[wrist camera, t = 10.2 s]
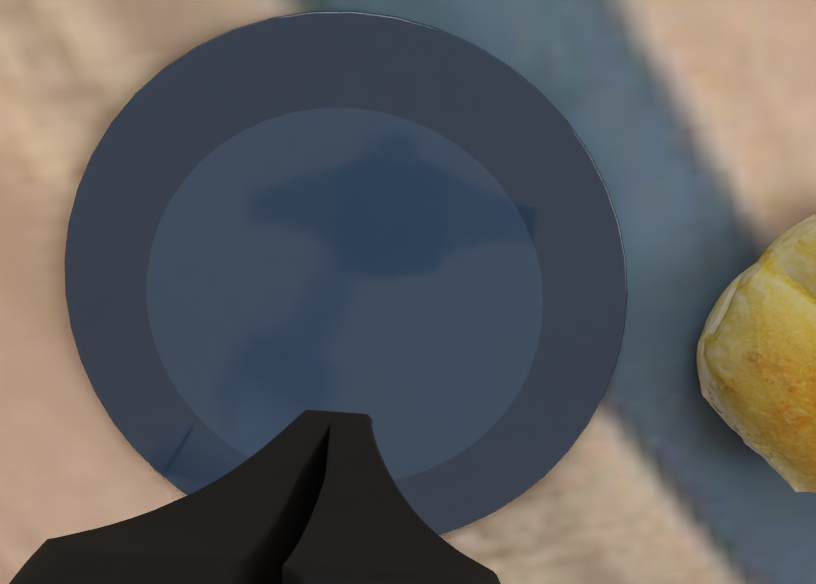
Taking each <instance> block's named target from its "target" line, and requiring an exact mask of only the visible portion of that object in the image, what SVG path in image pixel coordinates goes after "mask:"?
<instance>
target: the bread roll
mask: <svg viewBox="0 0 816 584" xmlns="http://www.w3.org/2000/svg"><path fill="white" fill-rule="evenodd" d="M697 369H698V375H699V380H700V389H701V393H702V395H703V397H704V398H705V399H706V400H707V401H708V402H709V403H710V405H711V406H712V407H713V408H714V409H715V411H716V412H717V413H718V414H719V415H720V416H721V418H722V419H723V420H724V421H725V422H726V423H727V425H728V426H729V427H731V429H732V430H734V431H735V432H736V433H737V434H738V435H739V436H741V437H742V439H743V441H744V443H745V444H746V445H747V446H749V447H750V448H751V449H752V450H753V451H755V452H756V453H758V454H759V455H761V456H762V457H763V458H764V459H765V460H766V461H767V463H768V464H769V465H770V466H771V467H772V468H774V469H775V470H776V471H777V472H778V473H779V474H780V475H781V476H782V477H783V478H784V479H785V480H786V481H787V482H788V484H789V485H790V486H791V487H792V489H793V490H794V491H795V492H814V493H816V214H815V215H813V216H811V217H808V218H807V219H805V220H803V221H801V222H799V223H797V224H796V225H794V226H792V227H791V228H789V229H787V230H786V231H785V232H784V233H782V234H781V235H780V236H778V237H777V238H776V239H775V240H774V241H773V242H772V243H771V244H770V246H769V247H768V248H767V249H766V251H765V252H764V253H763V254H762V256H761V257H760V258H759V260H758V261H757V262H756V263H755V264H753V265H752V266H750V267H749V268H748V269H746V270H745V271H744V272H743V273H741V274H739V275H738V276H737V278H736V279H735V280H733V281H732V282H731V283H730V284H729V286H728V287H727V288H726V289H725V291H724V292H723V293H722V294H721V296H720V297H719V299H718V300H717V302H716V303H715V305H714V307H713V309H712V310H711V312H710V314H709V316H708V318H707V320H706V322H705V325H704V328H703V331H702V334H701V336H700V339H699V342H698V346H697Z"/></svg>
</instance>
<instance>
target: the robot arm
mask: <svg viewBox="0 0 816 584" xmlns="http://www.w3.org/2000/svg"><path fill="white" fill-rule="evenodd" d="M9 584H500V581H499V579H498V577H497V575H496V574H495V573H494V572H493V571H492V570H490V569H488V568H486V567H485V566H483V565H481V564H479V563H478V562H476V561H474V560H472V559H471V558H469V557H467V556H465V555H464V554H462V553H461V552H459V551H458V550H457V549H455V548H454V547H452V546H451V545H450V544H448V543H447V542H446V541H444V540H443V539H442V538H441V537H440V536H438V535H437V534H436V533H435V532H434V531H433V530H432V529H431V528H430V527H429V526H428V525H427V524H426V523H425V522H424V521H423V520H422V519H421V518H420V517H419V516H418V515H417V513H416V512H415V511H414V510H413V508H412V507H411V506H410V505H409V503H408V502H407V501H406V499H405V498H404V496H403V495H402V493H401V492H400V490H399V489H398V487H397V485H396V484H395V482H394V480H393V478H392V477H391V475H390V473H389V471H388V469H387V467H386V465H385V463H384V461H383V458H382V456H381V454H380V452H379V449H378V446H377V443H376V440H375V437H374V433H373V429H372V419H371V418H370V417H369V415H368V414H360V413H347V412H333V411H319V410H305V411H304V412H303V413H302V414H300V415H299V416H298V417H297V418H296V419H295V420H293V421H292V422H291V423H290V424H289V425H288V426H287V427H286V428H285V429H284V430H282V431H281V432H280V433H279V434H278V435H277V436H276V437H275V438H273V439H272V440H271V441H270V442H269V443H267V444H266V445H265V446H264V447H263V448H261V449H260V450H259V451H258V452H257V453H255V454H254V455H253V456H251V457H250V458H248V459H247V460H246V461H244V462H243V463H242V464H240V465H239V466H237V467H236V468H235V469H233V470H232V471H230V472H229V473H227V474H226V475H224V476H222V477H221V478H219V479H217V480H216V481H214V482H212V483H210V484H209V485H207V486H205V487H203V488H201V489H200V490H198V491H196V492H194V493H192V494H190V495H187V496H185V497H183V498H181V499H178V500H176V501H174V502H172V503H169V504H167V505H165V506H163V507H160V508H158V509H156V510H153V511H151V512H148V513H145V514H142V515H139V516H137V517H134V518H131V519H128V520H124V521H121V522H118V523H115V524H112V525H108V526H104V527H101V528H97V529H93V530H88V531H84V532H80V533H75V534H71V535H66V536H62V537H57V538H52V539H47V540H46V541H45V542H44V543H43V544H42V546H41V547H40V548H39V549H38V550H37V551H36V552H35V553H34V554H33V555H32V556H31V557H30V559H29V560H28V561H27V562H26V563H25V564H24V566H23V567H22V568H21V569H20V571H19V572H18V573H17V574H16V576H15V577H14V578H13V579H12V581H11V582H10V583H9Z"/></svg>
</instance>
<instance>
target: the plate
mask: <svg viewBox="0 0 816 584" xmlns="http://www.w3.org/2000/svg"><path fill="white" fill-rule="evenodd" d="M65 293H66V299H67V306H68V312H69V318H70V324H71V329H72V332H73V336H74V339H75V342H76V346H77V349H78V353H79V356H80V359H81V362H82V364H83V366H84V369H85V371H86V373H87V375H88V378H89V380H90V382H91V384H92V387H93V389H94V391H95V393H96V395H97V396H98V398H99V399H100V401H101V403H102V404H103V406H104V408H105V409H106V411H107V413H108V414H109V416H110V418H111V419H112V421H113V422H114V424H115V425H116V426H117V427H118V429H119V430H120V431H121V432H122V434H123V435H124V436H125V438H126V439H127V440H128V441H129V443H130V444H131V445H132V447H133V448H134V449H135V450H136V451H137V452H138V453H139V454H140V455H141V456H142V457H143V458H144V459H145V460H146V461H147V462H148V463H149V464H150V465H151V466H152V467H153V468H154V469H155V470H156V471H157V472H158V473H160V474H161V475H162V476H163V477H165V478H166V479H167V480H168V481H170V482H171V483H172V484H173V485H175V486H176V487H177V488H178V489H180V490H181V491H182V492H184V493H185V494H187V495H190V494H192V493H194V492H196V491H198V490H200V489H201V488H203V487H205V486H207V485H209V484H210V483H212V482H214V481H216V480H217V479H219V478H221V477H222V476H224V475H226V474H227V473H229V472H230V471H232V470H233V469H235V468H236V467H237V466H239V465H240V464H242V463H243V462H244V461H246V460H247V459H248V458H250V457H251V456H253V455H254V454H255V453H257V452H258V451H259V450H260V449H261V448H263V447H264V446H265V445H266V444H267V443H269V442H270V441H271V440H272V439H273V438H275V437H276V436H277V435H278V434H279V433H280V432H281V431H282V430H284V429H285V428H286V427H287V426H288V425H289V424H290V423H291V422H292V421H293V420H295V419H296V418H297V417H298V416H299V415H300V414H302V413H303V412H304V411H305V410H319V411H333V412H347V413H360V414H368V415H369V417H370V418H371V419H372V429H373V433H374V437H375V440H376V443H377V446H378V449H379V452H380V454H381V456H382V458H383V461H384V463H385V465H386V467H387V469H388V471H389V473H390V475H391V477H392V478H393V480H394V482H395V484H396V485H397V487H398V489H399V490H400V492H401V493H402V495H403V496H404V498H405V499H406V501H407V502H408V503H409V505H410V506H411V507H412V508H413V510H414V511H415V512H416V513H417V515H418V516H419V517H420V518H421V519H422V520H423V521H424V522H425V523H426V524H427V525H428V526H429V527H430V528H431V529H432V530H433V531H434V532H435V533H436V534H437V535H440V534H443V533H446V532H449V531H452V530H455V529H458V528H461V527H464V526H466V525H468V524H470V523H472V522H475V521H477V520H479V519H481V518H483V517H485V516H487V515H489V514H491V513H493V512H495V511H497V510H498V509H500V508H501V507H503V506H504V505H506V504H508V503H509V502H511V501H512V500H514V499H516V498H517V497H519V496H520V495H522V494H523V493H524V492H525V491H526V490H528V489H529V488H530V487H531V486H533V485H534V484H535V483H536V482H538V481H539V480H540V479H541V478H542V477H544V476H545V475H546V474H547V473H548V472H549V471H550V470H551V469H552V468H553V467H554V466H555V465H556V463H557V462H558V461H559V460H560V459H561V458H562V457H563V456H564V455H565V454H566V453H567V452H568V451H569V449H570V448H571V447H572V445H573V444H574V443H575V441H576V440H577V439H578V437H579V436H580V434H581V433H582V432H583V430H584V429H585V428H586V426H587V425H588V423H589V421H590V420H591V418H592V416H593V414H594V412H595V410H596V409H597V407H598V405H599V403H600V401H601V400H602V398H603V396H604V394H605V391H606V389H607V386H608V383H609V381H610V378H611V376H612V373H613V370H614V368H615V365H616V362H617V358H618V354H619V350H620V345H621V341H622V337H623V333H624V326H625V316H626V305H627V273H626V257H625V252H624V246H623V241H622V236H621V230H620V225H619V221H618V218H617V215H616V212H615V209H614V206H613V203H612V200H611V197H610V195H609V192H608V189H607V186H606V184H605V182H604V180H603V178H602V176H601V174H600V172H599V170H598V168H597V166H596V164H595V162H594V160H593V158H592V156H591V154H590V153H589V151H588V150H587V148H586V147H585V145H584V144H583V143H582V141H581V140H580V138H579V137H578V135H577V134H576V132H575V131H574V130H573V128H572V127H571V125H570V124H569V122H568V121H567V120H566V119H565V118H564V117H563V116H562V114H561V113H560V112H559V111H558V110H557V109H556V108H555V107H554V106H553V105H552V104H551V102H550V101H549V100H548V99H547V98H546V97H545V96H544V95H543V94H542V93H541V92H540V91H539V90H538V89H537V88H535V87H534V86H533V85H532V84H531V83H529V82H528V81H527V80H526V79H524V78H523V77H522V76H521V75H520V74H518V73H517V72H516V71H515V70H513V69H512V68H511V67H510V66H508V65H507V64H505V63H504V62H502V61H500V60H499V59H497V58H495V57H494V56H492V55H490V54H489V53H487V52H486V51H484V50H482V49H481V48H479V47H477V46H476V45H474V44H472V43H470V42H467V41H465V40H463V39H460V38H458V37H456V36H453V35H451V34H449V33H447V32H444V31H442V30H440V29H437V28H435V27H431V26H427V25H424V24H420V23H417V22H413V21H409V20H406V19H402V18H399V17H394V16H387V15H379V14H372V13H364V12H357V11H313V12H306V13H299V14H293V15H286V16H280V17H273V18H269V19H266V20H263V21H259V22H256V23H253V24H249V25H246V26H243V27H239V28H236V29H233V30H231V31H229V32H226V33H224V34H222V35H220V36H218V37H216V38H214V39H211V40H209V41H207V42H205V43H203V44H201V45H199V46H197V47H195V48H194V49H192V50H191V51H189V52H188V53H186V54H185V55H183V56H181V57H180V58H178V59H177V60H175V61H174V62H172V63H171V64H169V65H168V66H166V67H165V68H164V69H162V70H161V71H160V72H159V73H158V74H157V75H156V76H155V77H153V78H152V79H151V80H150V81H149V82H148V83H147V84H146V85H145V86H143V87H142V88H141V89H140V90H139V91H138V92H137V93H136V94H135V95H134V96H133V97H132V98H131V100H130V101H129V102H128V103H127V104H126V106H125V107H124V108H123V109H122V110H121V112H120V113H119V114H118V115H117V116H116V118H115V119H114V120H113V121H112V122H111V124H110V126H109V127H108V129H107V131H106V132H105V134H104V136H103V137H102V139H101V141H100V142H99V144H98V145H97V147H96V149H95V150H94V152H93V154H92V156H91V158H90V160H89V163H88V165H87V168H86V170H85V172H84V175H83V177H82V179H81V182H80V184H79V186H78V189H77V193H76V197H75V201H74V205H73V209H72V212H71V216H70V220H69V225H68V234H67V242H66V251H65Z"/></svg>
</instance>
